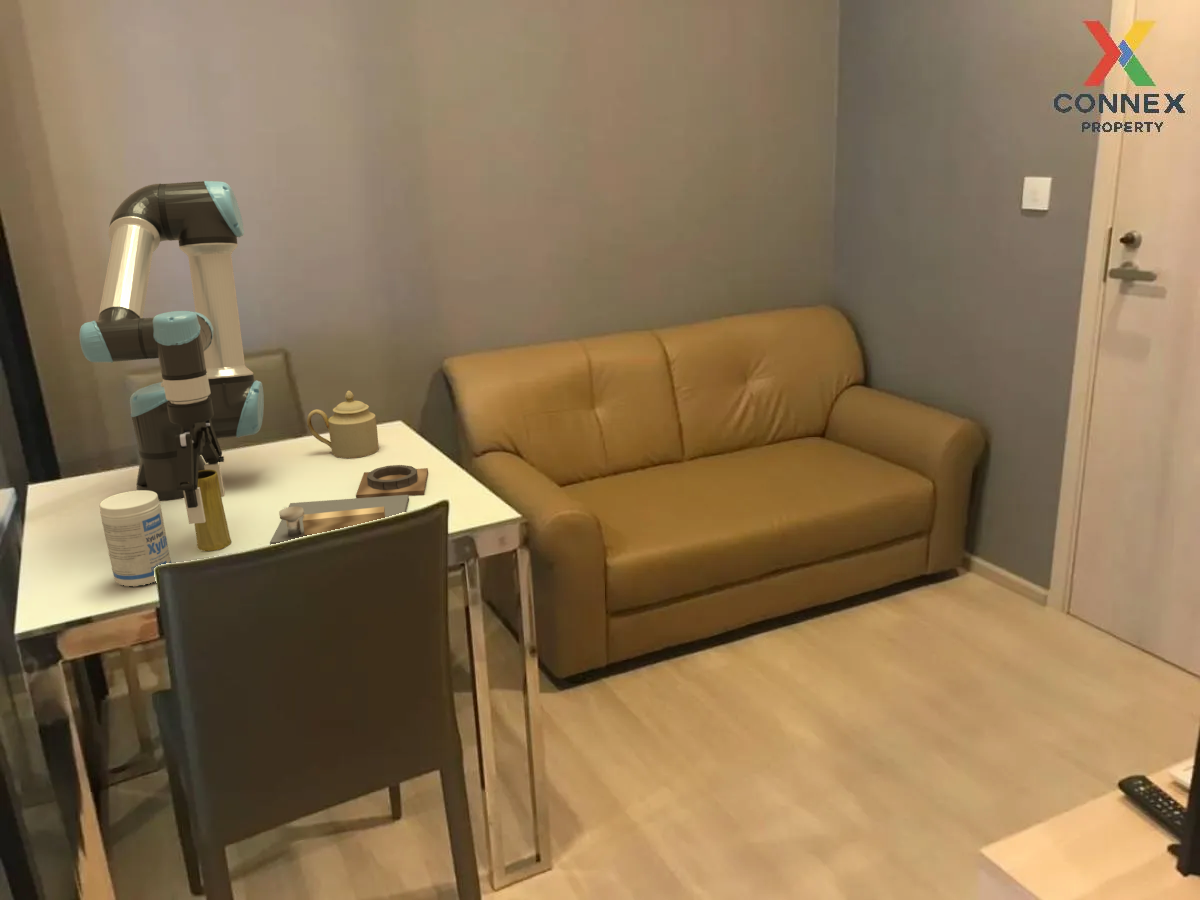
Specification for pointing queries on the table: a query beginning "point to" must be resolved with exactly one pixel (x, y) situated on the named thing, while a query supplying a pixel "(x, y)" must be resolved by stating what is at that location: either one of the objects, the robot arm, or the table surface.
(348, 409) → the sugar bowl
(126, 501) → the supplement tub
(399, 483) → the socket block
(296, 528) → the pivot post
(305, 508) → the board
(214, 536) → the vase
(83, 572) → the table surface
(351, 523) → the folding leg
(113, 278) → the robot arm
